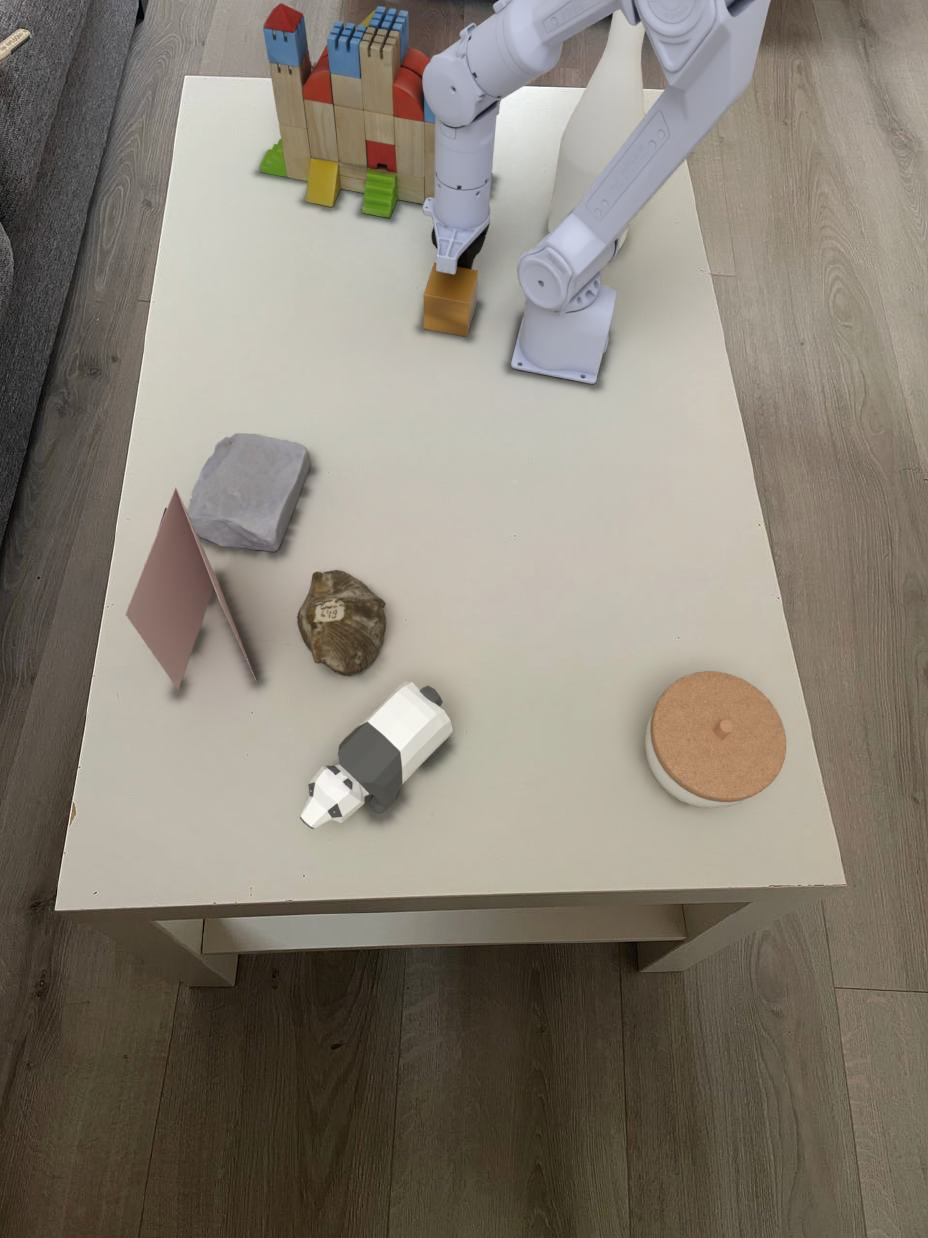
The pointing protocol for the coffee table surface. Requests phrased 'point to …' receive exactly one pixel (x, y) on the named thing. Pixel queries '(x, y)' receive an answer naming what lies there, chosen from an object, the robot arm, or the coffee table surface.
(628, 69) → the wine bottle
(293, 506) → the stone block
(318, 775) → the giant panda
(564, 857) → the coffee table surface
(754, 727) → the trinket box
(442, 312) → the ochre block
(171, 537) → the greeting card
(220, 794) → the coffee table surface
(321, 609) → the fossilized seashell
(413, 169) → the block set
